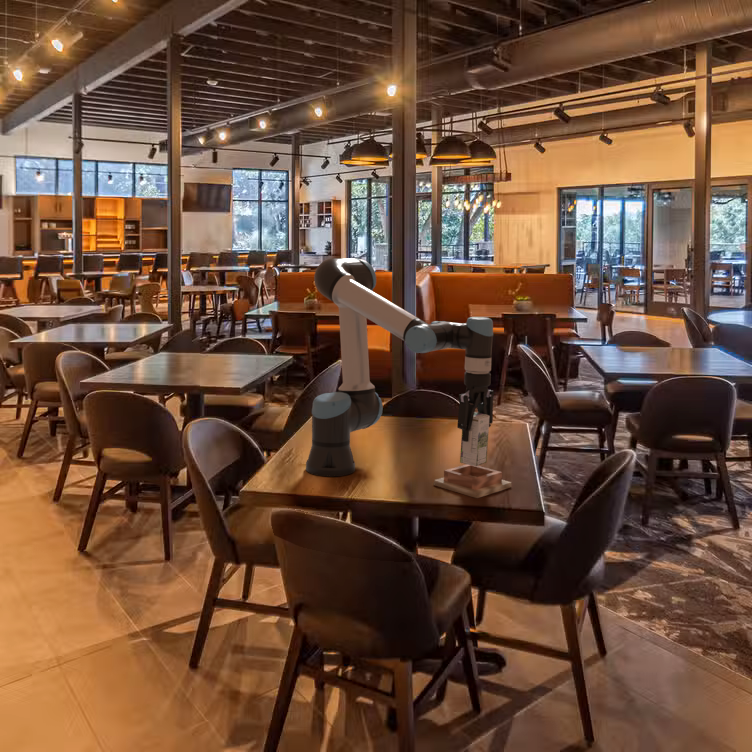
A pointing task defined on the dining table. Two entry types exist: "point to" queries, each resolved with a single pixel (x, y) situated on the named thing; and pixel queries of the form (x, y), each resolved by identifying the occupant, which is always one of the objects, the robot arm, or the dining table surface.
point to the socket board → (472, 480)
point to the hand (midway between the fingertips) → (474, 450)
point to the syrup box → (477, 441)
